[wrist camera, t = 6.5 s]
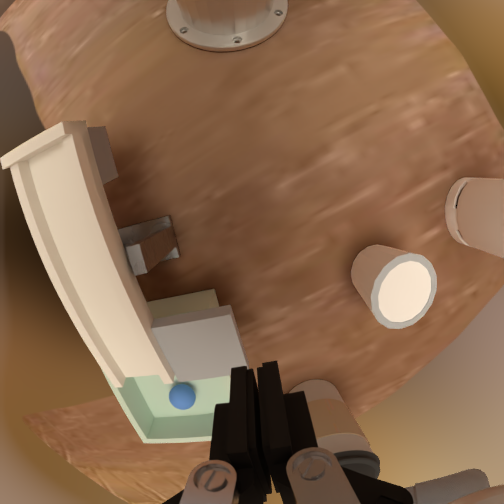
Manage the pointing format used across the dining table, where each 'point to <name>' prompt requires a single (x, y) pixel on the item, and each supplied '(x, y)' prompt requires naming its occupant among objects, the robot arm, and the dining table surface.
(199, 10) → the robot arm
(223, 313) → the lever
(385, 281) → the shot glass
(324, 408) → the coffee cup
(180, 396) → the ball
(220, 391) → the bin
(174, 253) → the lever stand
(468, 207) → the bottle
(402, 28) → the dining table surface
